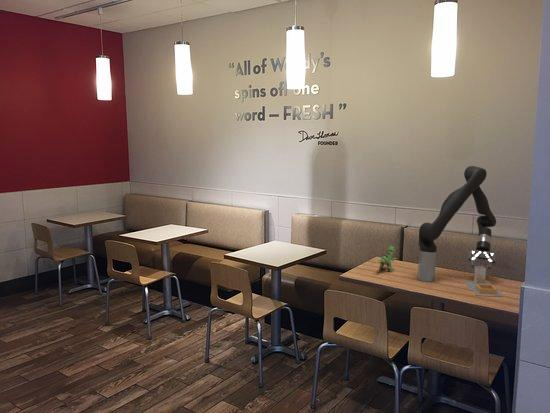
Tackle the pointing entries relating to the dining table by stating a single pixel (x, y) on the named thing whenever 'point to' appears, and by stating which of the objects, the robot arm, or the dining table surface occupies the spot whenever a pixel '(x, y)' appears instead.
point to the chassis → (483, 289)
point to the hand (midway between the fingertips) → (480, 267)
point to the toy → (387, 260)
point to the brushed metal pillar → (479, 275)
